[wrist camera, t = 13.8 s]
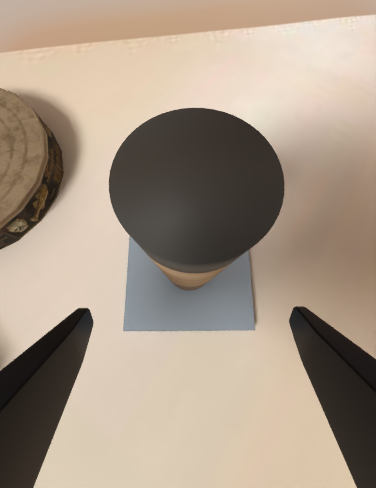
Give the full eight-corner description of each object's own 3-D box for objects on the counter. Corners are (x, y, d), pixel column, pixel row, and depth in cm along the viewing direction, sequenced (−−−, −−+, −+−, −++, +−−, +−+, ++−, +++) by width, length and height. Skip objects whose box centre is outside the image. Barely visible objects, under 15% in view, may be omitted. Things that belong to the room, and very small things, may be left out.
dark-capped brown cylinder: (218, 278, 17) (319, 216, 4) (178, 298, 16) (149, 297, 4) (199, 239, 17) (231, 87, 5) (160, 257, 17) (85, 142, 4)
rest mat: (243, 211, 19) (245, 208, 18) (252, 328, 16) (255, 330, 16) (133, 211, 19) (131, 208, 18) (125, 329, 16) (123, 331, 16)
